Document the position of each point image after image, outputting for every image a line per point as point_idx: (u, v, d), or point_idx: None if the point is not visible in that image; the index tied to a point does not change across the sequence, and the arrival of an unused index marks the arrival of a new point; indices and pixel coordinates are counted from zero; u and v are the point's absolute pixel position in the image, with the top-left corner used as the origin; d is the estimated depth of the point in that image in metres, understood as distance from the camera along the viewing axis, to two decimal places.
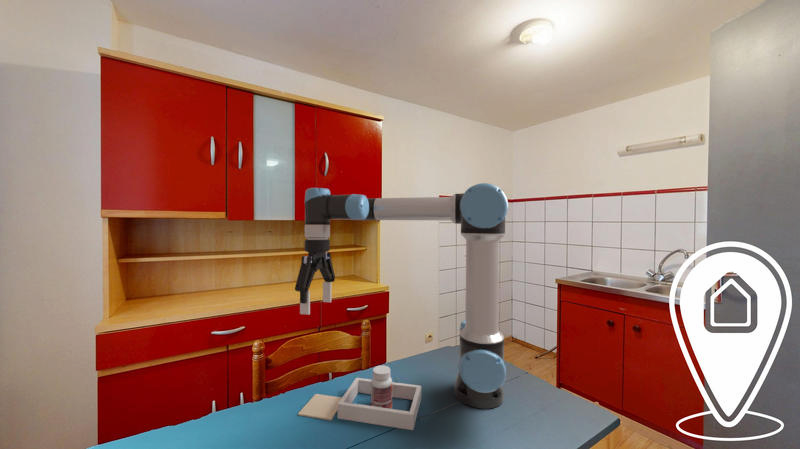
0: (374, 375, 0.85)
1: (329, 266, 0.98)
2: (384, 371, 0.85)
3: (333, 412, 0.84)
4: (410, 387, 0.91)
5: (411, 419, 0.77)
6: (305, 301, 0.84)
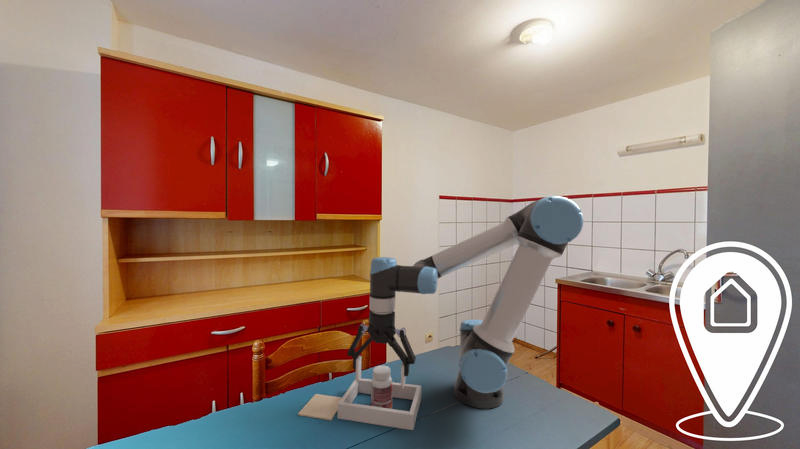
0: (374, 375, 0.85)
1: None
2: (384, 371, 0.85)
3: (333, 412, 0.84)
4: (410, 387, 0.91)
5: (411, 419, 0.77)
6: (354, 367, 0.88)
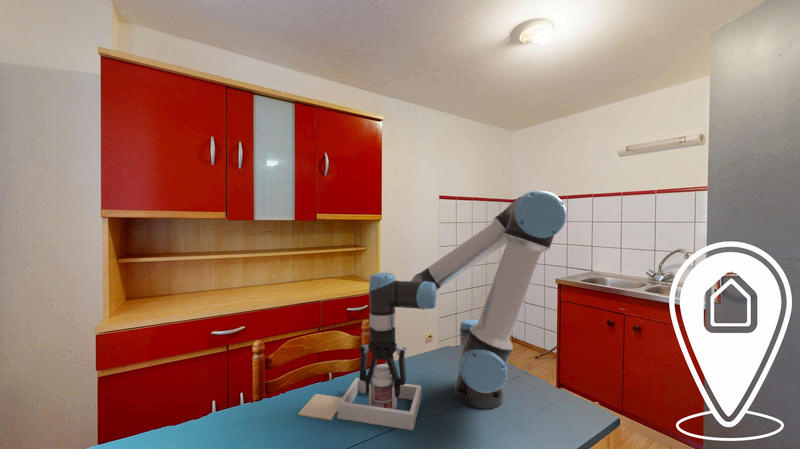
0: (375, 374, 0.85)
1: None
2: (385, 370, 0.85)
3: (333, 412, 0.84)
4: (410, 387, 0.91)
5: (411, 419, 0.77)
6: (367, 392, 0.87)
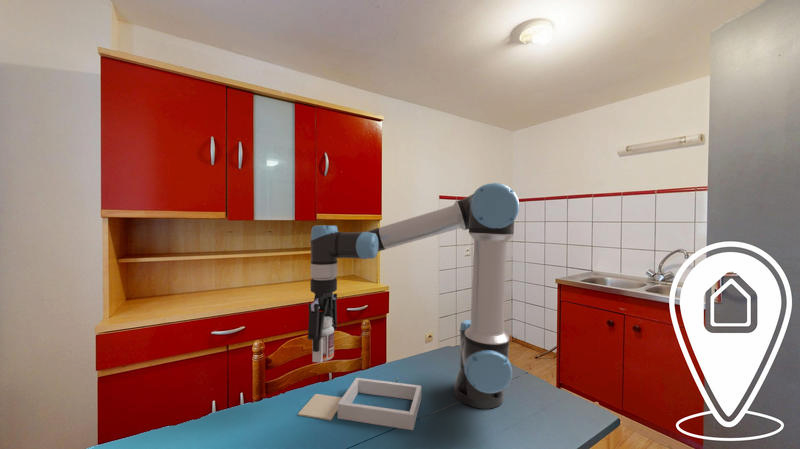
0: (326, 324, 0.85)
1: (333, 309, 0.92)
2: (328, 318, 0.88)
3: (333, 412, 0.84)
4: (410, 387, 0.91)
5: (411, 419, 0.77)
6: (318, 349, 0.82)
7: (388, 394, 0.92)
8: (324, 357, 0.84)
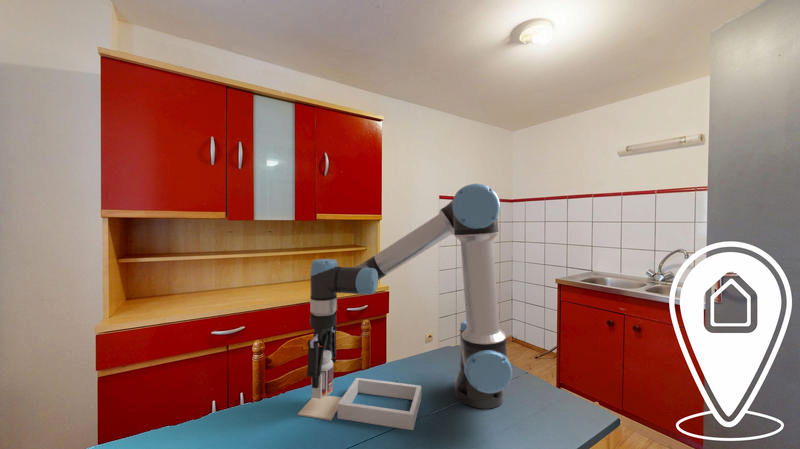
0: (326, 359, 0.85)
1: (333, 341, 0.92)
2: (327, 352, 0.88)
3: (333, 412, 0.84)
4: (410, 387, 0.91)
5: (411, 419, 0.77)
6: (317, 386, 0.82)
7: (388, 394, 0.92)
8: (323, 393, 0.84)
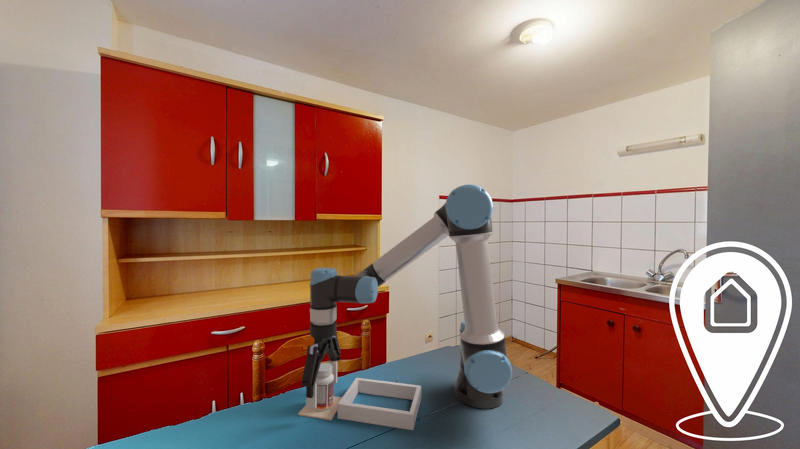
0: (327, 373, 0.85)
1: (335, 344, 0.93)
2: (328, 365, 0.88)
3: (333, 412, 0.84)
4: (410, 387, 0.91)
5: (411, 419, 0.77)
6: (312, 395, 0.79)
7: (388, 394, 0.92)
8: (324, 407, 0.84)
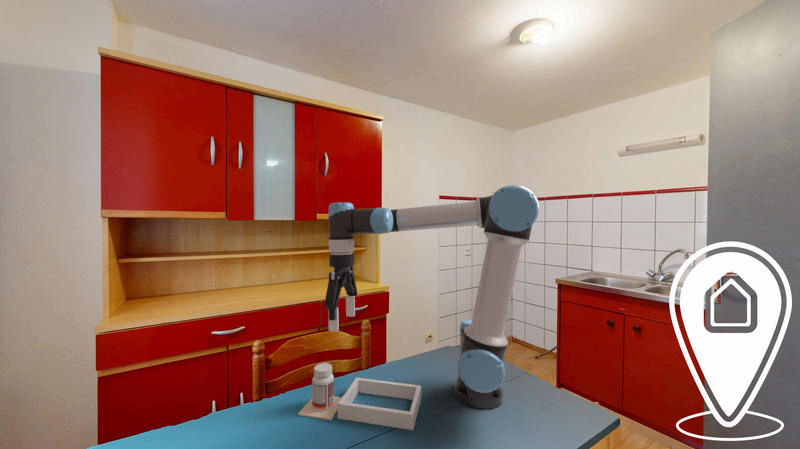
0: (326, 373, 0.85)
1: (352, 280, 0.97)
2: (328, 365, 0.88)
3: (333, 412, 0.84)
4: (410, 387, 0.91)
5: (411, 419, 0.77)
6: (334, 318, 0.83)
7: (388, 394, 0.92)
8: (324, 407, 0.84)
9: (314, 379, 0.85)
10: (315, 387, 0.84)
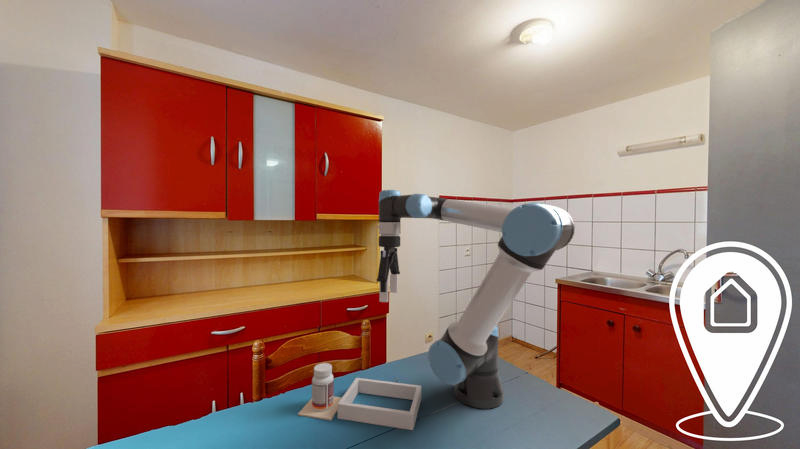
0: (326, 373, 0.85)
1: (395, 260, 1.09)
2: (328, 365, 0.88)
3: (333, 412, 0.84)
4: (410, 387, 0.91)
5: (411, 419, 0.77)
6: (385, 290, 0.95)
7: (388, 394, 0.92)
8: (324, 407, 0.84)
9: (314, 379, 0.85)
10: (315, 387, 0.84)
